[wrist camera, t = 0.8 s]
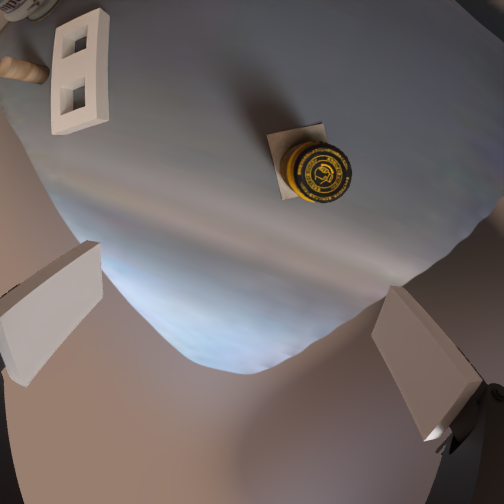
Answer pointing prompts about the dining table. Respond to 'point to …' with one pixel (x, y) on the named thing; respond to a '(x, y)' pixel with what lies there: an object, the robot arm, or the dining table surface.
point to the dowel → (23, 70)
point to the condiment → (309, 165)
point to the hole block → (80, 73)
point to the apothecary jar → (27, 9)
